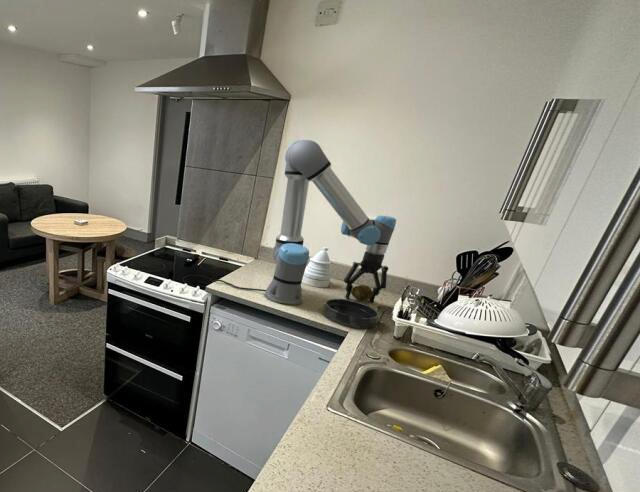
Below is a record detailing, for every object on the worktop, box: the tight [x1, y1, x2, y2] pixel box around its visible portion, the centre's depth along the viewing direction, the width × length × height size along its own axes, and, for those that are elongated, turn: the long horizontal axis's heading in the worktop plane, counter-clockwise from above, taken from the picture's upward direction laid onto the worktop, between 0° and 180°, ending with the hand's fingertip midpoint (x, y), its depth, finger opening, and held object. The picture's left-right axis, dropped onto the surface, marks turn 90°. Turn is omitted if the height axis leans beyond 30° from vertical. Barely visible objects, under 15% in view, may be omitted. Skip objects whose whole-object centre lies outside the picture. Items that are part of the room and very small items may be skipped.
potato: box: [351, 284, 373, 302], centre depth 177 cm, size 8×13×8 cm, turn 149°
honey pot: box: [301, 246, 332, 288], centre depth 193 cm, size 13×13×18 cm
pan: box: [322, 298, 380, 329], centre depth 157 cm, size 19×19×4 cm
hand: (358, 299), depth 178 cm, fingers open, 9 cm apart
